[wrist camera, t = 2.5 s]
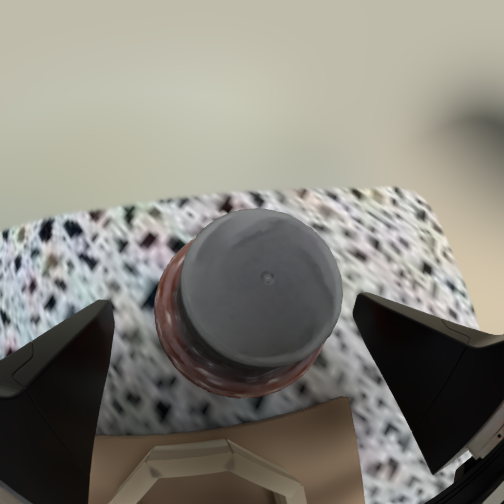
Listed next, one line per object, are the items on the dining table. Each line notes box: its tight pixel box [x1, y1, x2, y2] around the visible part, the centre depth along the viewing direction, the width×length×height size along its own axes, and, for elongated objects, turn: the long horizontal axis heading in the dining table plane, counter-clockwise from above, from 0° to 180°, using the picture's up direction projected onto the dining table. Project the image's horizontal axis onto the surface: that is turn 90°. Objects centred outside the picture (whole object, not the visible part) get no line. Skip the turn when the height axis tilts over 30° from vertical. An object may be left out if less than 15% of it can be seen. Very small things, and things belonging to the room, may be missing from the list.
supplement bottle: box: [154, 209, 343, 398], centre depth 11 cm, size 6×6×11 cm
